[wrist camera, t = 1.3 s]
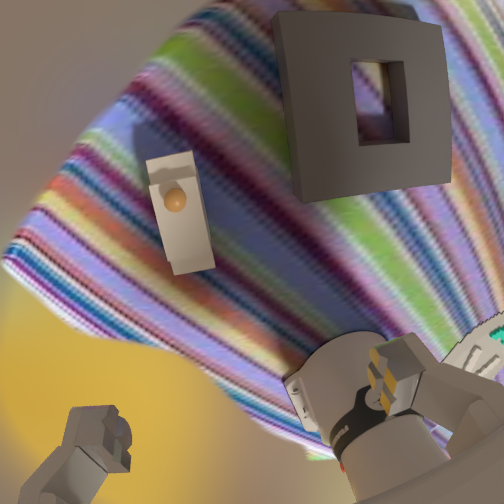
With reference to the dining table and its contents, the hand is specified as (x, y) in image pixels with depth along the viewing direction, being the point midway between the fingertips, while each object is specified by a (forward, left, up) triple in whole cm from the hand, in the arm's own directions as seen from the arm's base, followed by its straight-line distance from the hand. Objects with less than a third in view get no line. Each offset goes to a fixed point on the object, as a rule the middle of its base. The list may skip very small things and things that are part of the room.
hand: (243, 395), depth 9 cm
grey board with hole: (+7, -17, -25) cm, 31 cm away
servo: (-1, +3, -25) cm, 25 cm away
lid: (-44, -46, -26) cm, 68 cm away
